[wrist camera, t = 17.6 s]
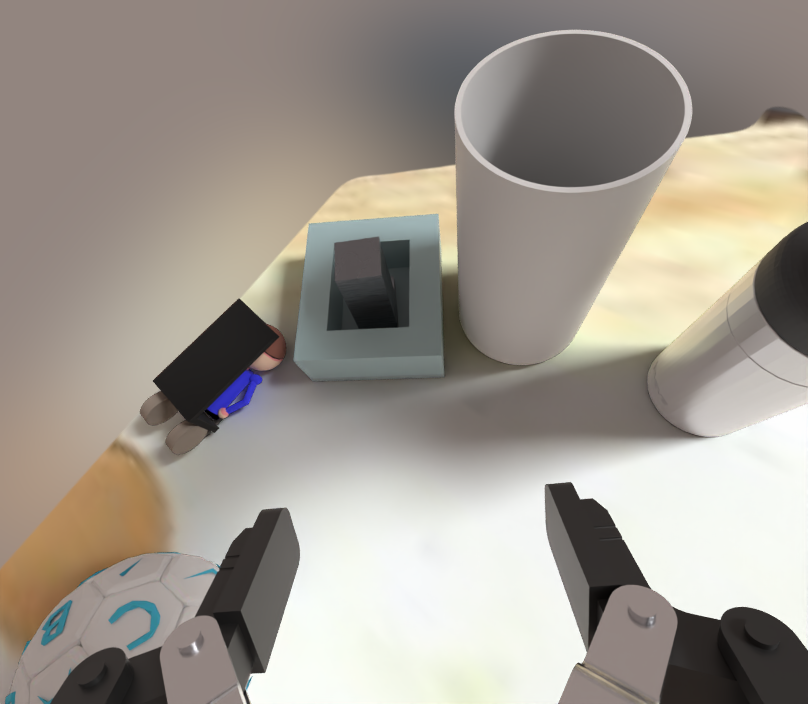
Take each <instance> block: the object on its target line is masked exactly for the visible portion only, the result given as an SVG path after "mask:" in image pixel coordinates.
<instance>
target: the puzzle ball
mask: <svg viewBox="0 0 808 704" xmlns="http://www.w3.org/2000/svg"><path fill="white" fill-rule="evenodd" d="M216 565H217V564H216ZM216 565H215V564H214V563H212V562H210V561H206V560H204V559H203V558H202V557H198V556H192V555H186V554H180V553H178V552H167V553H150V554H142V555H139V556H136V557H132V558H127V559H125V560H123V561H121V562H119V563H117V564H114V565H113V566H111V567H109V568H106V569H103V570H101V571H98V572H96V573H95V574H93V575H92V576H90V577H89V578H87V579H86V580H84V581H83V582H81V583H80V585H79V586H78V587H77V588H76V589H75V590H74V591H73V592H71V593H70V594H69V595H67V596H66V597H65V598H64V599H62V600H61V601H60V603H59V604H58V605H57V606H56V607H55V608H54V609H53V610H52V611H51V612H50V614H49V615H48V616H47V617H46V618H45V619H44V621H43V622H42V624H41V625H40V627H39V629H38V630H37V632H36V634H35V635H34V637H33V638H32V640H30V641H27V643H26V646H25V648H24V651H23V653H22V656H21V658H20V661H19V663H18V664H19V665H18V668H17V670H16V672H15V676H14V679H13V682H12V686H11V690H10V694H9V695H8V696H7V697H6V700H5V704H50V703H51V701H52V700H53V698H54V696H55V695H56V693H57V692H58V690H59V689H60V687H61V686H62V684H63V683H64V681H65V679H66V678H67V677H68V675H69V674H70V673H71V672H72V671H73V669H74V668H75V667H76V666H77V665H79V664H80V663H81V662H82V661H83V660H85V659H86V658H87V657H89V656H90V655H92V654H94V653H96V652H98V651H100V650H103V649H106V648H110V647H116V648H120V649H122V650H123V651H124V653H125V654H126V656H127V658H128V659H129V658H132V657H134V656H137V655H140V654H142V653H145V652H148V651H150V650H153V649H156V648H158V647H161V646H163V644H164V642H165V640H166V639H167V637H168V636H169V635H170V634H171V633H172V632H173V631H174V630H175V629H176V628H177V627H178V626H179V625H181V624H182V623H184V622H185V621H187V620H189V619H191V618H194V617H195V615H196V613H197V611H198V609H199V607H200V605H201V603H202V601H203V599H204V597H205V595H206V593H207V591H208V589H209V587H210V585H211V583H212V582H213V580H214V578H215V576H216V574H217V572H218V571H219V568H220V566H219V565H217V566H218V567H217V566H216ZM249 677H250V676H249ZM251 678H252V677H251ZM251 678H250V680H249V679H248V682H247V685H246V690H247V688H248V686H249V683H250V681H251Z"/></svg>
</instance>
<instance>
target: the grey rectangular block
mask: <svg viewBox="0 0 808 704" xmlns="http://www.w3.org/2000/svg"><path fill="white" fill-rule="evenodd" d="M334 252H335V282H336V284H337V286H338V288H339V290H340V292H341V294H342V296H343V298H344V300H345V302H346V304H347V306H348V308H349V310H350V312H351V314H352V316H353V318H354V320H355V322H356V324H357V326H358V328H359V329H378V328H399V324H398V311H397V299H396V286H395V280H394V277H393V276H390V274H389V270H388V267H387V263H386V260H385V256H384V252H383V249H382V245H381V242H380V238H379V236H378V237H371V238H364V239H357V240H350V241H343V242H336V243H334Z"/></svg>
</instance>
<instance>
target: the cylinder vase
mask: <svg viewBox="0 0 808 704" xmlns="http://www.w3.org/2000/svg"><path fill="white" fill-rule="evenodd" d="M691 118H692V102H691V97H690V93H689V90H688V88H687V85H686V84H685V82H684V80H683V78H682V77H681V75H680V74H679V72H678V71H677V70H676V69H675V68H674V67H673V65H671V64H670V63H669V62H668V61H667V60H666V59H665V58H663V57H662V56H661V55H660V54H658V53H657V52H655V51H654V50H652V49H650V48H648V47H646V46H645V45H643V44H640V43H638V42H636V41H633V40H631V39H628V38H625V37H622V36H618V35H614V34H610V33H605V32H598V31H589V30H562V31H552V32H546V33H540V34H536V35H532V36H528V37H525V38H523V39H519V40H517V41H514V42H512V43H509V44H507V45H505V46H503V47H501V48H499V49H498V50H496V51H494V52H493V53H491V54H490V55H488V56H487V57H486V58H485V59H483V60H482V61H481V62H480V63H478V64H477V65H476V66H475V67H474V68H473V70H472V71H471V72H470V73H469V74H468V76H467V77H466V79H465V80H464V82H463V84H462V85H461V87H460V90H459V92H458V95H457V99H456V104H455V149H456V198H457V245H458V293H459V318H460V322H461V326H462V328H463V331H464V333H465V334H466V336H467V338H468V339H469V340H470V342H471V343H472V344H473V345H474V346H475V347H476V348H477V349H478V350H479V351H481V352H482V353H483V354H485V355H486V356H488V357H490V358H492V359H494V360H497V361H499V362H503V363H507V364H513V365H531V364H536V363H540V362H543V361H546V360H549V359H551V358H553V357H554V356H556V355H558V354H559V353H561V352H562V351H563V350H564V349H565V348H566V347H567V346H568V345H569V344H570V343H571V342H572V340H573V339H574V337H575V335H576V334H577V332H578V330H579V328H580V326H581V325H582V323H583V321H584V319H585V317H586V316H587V314H588V312H589V310H590V308H591V307H592V305H593V303H594V301H595V299H596V297H597V296H598V294H599V292H600V290H601V288H602V287H603V285H604V283H605V281H606V279H607V278H608V276H609V274H610V272H611V270H612V269H613V267H614V265H615V263H616V261H617V260H618V258H619V256H620V254H621V252H622V251H623V249H624V247H625V245H626V243H627V242H628V240H629V238H630V236H631V234H632V233H633V231H634V229H635V227H636V225H637V224H638V222H639V220H640V218H641V216H642V215H643V213H644V211H645V209H646V207H647V206H648V204H649V202H650V200H651V198H652V197H653V195H654V193H655V191H656V189H657V188H658V186H659V184H660V182H661V180H662V178H663V177H664V175H665V173H666V171H667V169H668V168H669V166H670V164H671V162H672V160H673V159H674V157H675V155H676V153H677V151H678V150H679V148H680V146H681V144H682V142H683V141H684V139H685V137H686V135H687V133H688V130H689V127H690V123H691Z"/></svg>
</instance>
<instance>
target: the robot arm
mask: <svg viewBox="0 0 808 704" xmlns="http://www.w3.org/2000/svg"><path fill="white" fill-rule="evenodd" d="M647 384H648V391H649V394H650V397H651V400H652V402H653V404H654V405H655V407H656V409H657V410H658V411H659V412H660V413H661V415H662V416H663V417H664V418H665V419H666V420H668V421H669V422H670V423H671V424H673V425H674V426H676V427H678V428H680V429H681V430H683V431H686V432H688V433H691V434H694V435H699V436H705V437H719V436H723V435H727V434H730V433H733V432H735V431H738V430H741V429H743V428H746V427H748V426H751V425H754V424H756V423H759V422H762V421H764V420H767V419H769V418H772V417H774V416H777V415H780V414H782V413H785V412H787V411H790V410H792V409H795V408H798V407H800V406H803V405H805V404H808V222H806V223H804V224H803V225H801V226H799V227H798V228H796V229H795V230H793V231H792V232H791V233H789V234H788V235H787V236H786V237H784V238H783V239H782V240H781V241H780V242H779V243H778V244H777V245H776V246H775V247H774V248H773V249H772V250H771V251H769V252H768V253H767V254H766V255H765V256H764V257H763V258H762V259H761V260H760V261H759V262H758V263H757V264H756V265H755V266H754V267H752V268H751V269H750V270H749V271H748V272H747V273H746V274H745V275H744V276H743V277H742V278H741V279H740V280H739V281H738V282H737V283H736V284H735V285H733V286H732V287H731V288H730V289H729V290H728V291H727V292H726V293H725V294H724V295H723V296H722V297H721V298H719V299H718V300H717V301H716V302H715V303H714V304H713V305H712V306H711V307H710V308H709V309H708V310H707V311H705V312H704V313H703V314H702V315H701V316H700V317H699V318H698V319H697V320H696V321H695V322H694V323H693V324H692V325H690V326H689V327H688V328H687V329H686V330H685V331H684V332H683V333H682V334H681V335H680V336H679V337H678V338H676V339H675V340H674V341H673V342H672V343H671V344H670V345H669V346H668V347H667V348H666V349H665V350H663V351H662V352H661V353H660V354H659V355H658V356H657V357H656V359H655V360H654V361H653V362H652V364H651V367H650V369H649V371H648V378H647ZM545 514H546V530H547V536H548V540H549V544H550V547H551V550H552V553H553V556H554V559H555V562H556V565H557V567H558V570H559V573H560V576H561V579H562V582H563V585H564V588H565V590H566V593H567V596H568V599H569V602H570V605H571V608H572V610H573V613H574V616H575V619H576V622H577V625H578V628H579V631H580V633H581V636H582V639H583V642H584V645H585V648H586V651H587V654H586V657H585V659H584V661H583V663H582V664H580V663H577V664H576V665H575V667H574V668H573V670H572V672H571V675H570V677H569V679H568V682H567V684H566V687H565V689H564V691H563V694H562V696H561V698H560V701H559V703H558V704H808V650H807V649H806V648H805V646H804V645H803V644H802V642H801V641H800V640H799V638H798V637H797V636H796V635H795V633H794V632H793V631H792V630H791V629H790V628H789V627H788V626H787V625H785V624H784V623H783V622H781V621H780V620H778V619H777V618H775V617H773V616H771V615H770V614H768V613H765V612H763V611H760V610H757V609H753V608H748V607H735V608H732V609H729V610H727V611H726V612H725V613H724V614H723V615H722V617H721V620H718V619H713V618H708V617H703V616H699V615H694V614H690V613H686V612H683V611H681V610H678V609H676V608H674V607H672V606H671V605H670V603H669V602H668V601H667V600H666V599H665V598H664V597H662V596H661V595H660V594H658V593H657V592H655V591H653V590H652V589H651V588H650V586H649V585H648V583H647V581H646V580H645V578H644V576H643V574H642V572H641V571H640V569H639V567H638V565H637V563H636V562H635V560H634V558H633V556H632V554H631V552H630V551H629V549H628V547H627V545H626V543H625V542H624V540H622V536H621V534H620V533H619V531H618V529H617V528H616V527H615V524H614V522H613V520H612V518H611V516H610V515H609V513H608V511H607V510H606V509H605V508H604V507H603V506H601V505H600V504H599V503H598V502H597V501H595V500H594V499H593V498H592V499H581V500H580V498H579V496H578V494H577V492H576V490H575V488H574V486H573V484H572V483H571V482H567V483H556V484H546V485H545ZM299 559H300V548H299V543H298V539H297V536H296V533H295V529H294V526H293V523H292V520H291V516H290V513H289V511H288V509H287V508H276V509H265V510H262V511H261V512H260V513H259V515H258V518H257V520H256V522H255V524H254V526H253V528H245V529H244V530H243V532H242V533H241V534H240V535H239V536H238V537H237V538H236V539H235V540H234V541H233V542H232V544H231V546H230V548H229V550H228V552H227V554H226V556H225V559H224V560H223V562H222V564H221V566H220V568H219V571H218V572H217V574H216V576H215V578H214V580H213V582H212V583H211V585H210V587H209V589H208V591H207V593H206V595H205V597H204V599H203V601H202V603H201V605H200V607H199V609H198V611H197V613H196V615H195V617H194V618H191V619H189V620H187V621H185V622H184V623H182V624H181V625H179V626H178V627H177V628H176V629H175V630H174V631H173V632H172V633H171V634H170V635H169V636H168V637H167V639H166V640H165V642H164V644H163V646H161V647H158V648H156V649H153V650H150V651H148V652H145V653H142V654H140V655H137V656H134V657H132V658H129V659H128V658H127V656H126V654H125V653H124V651H123V650H122V649H120V648H116V647H110V648H106V649H103V650H100V651H98V652H96V653H94V654H92V655H90V656H89V657H87V658H86V659H85V660H83V661H82V662H81V663H80V664H79V665H77V666H76V667H75V668H74V669H73V671H72V672H71V673H70V674H69V675H68V677H67V678H66V679H65V681H64V683H63V684H62V686H61V687H60V689H59V690H58V692H57V693H56V695H55V696H54V698H53V700H52V701H51V703H50V704H251V701H250V698H249V695H248V693H247V690H246V685H247V682H248V679H249V676H250V674H252V673H265V672H266V669H267V665H268V662H269V659H270V656H271V652H272V649H273V646H274V643H275V639H276V636H277V633H278V630H279V627H280V623H281V620H282V617H283V614H284V610H285V607H286V604H287V601H288V597H289V594H290V591H291V588H292V585H293V581H294V578H295V575H296V572H297V568H298V565H299Z"/></svg>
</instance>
